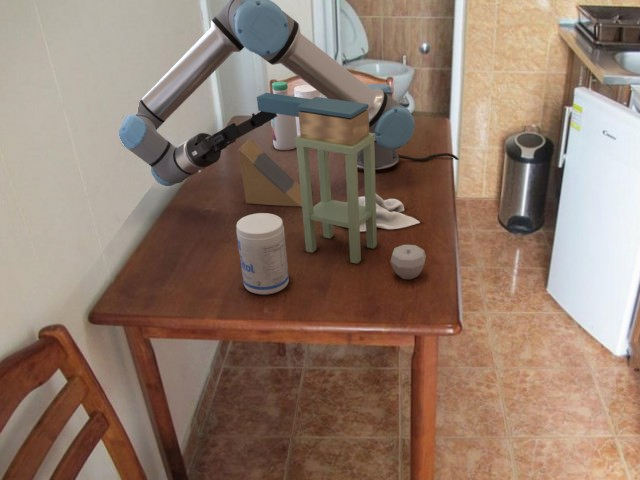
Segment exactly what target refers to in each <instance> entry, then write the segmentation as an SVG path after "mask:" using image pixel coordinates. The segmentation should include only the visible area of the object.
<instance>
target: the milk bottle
mask: <svg viewBox="0 0 640 480" xmlns="http://www.w3.org/2000/svg"><path fill="white" fill-rule="evenodd" d="M288 87H289V86H288V82H286V81H275V82H272V84H271V88H272V92H273V94H279V95H286V96H289V94H288V90H289V89H288ZM270 124H271V127H270V128H271V134H272V144H273V147H274V148H275V149H276V150H278V151H289V150H294V149H297V147H296V145H295V140H294V138H296V137H297V128H296V118H295V116H289V115H282V114H277V117H275V118H273V119H272V120H270Z"/></svg>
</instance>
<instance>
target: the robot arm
mask: <svg viewBox="0 0 640 480" xmlns="http://www.w3.org/2000/svg"><path fill="white" fill-rule="evenodd" d="M244 49H246V50H248V51H249V52H251V53H254V54H255V55H258V56H259V57H261V58H262V59H263V60H265V61H266V62H267V63H269V64H270V65H272V66H276V65H282V66H284V68H286V69H288V70H289V71H290V72H292V74H294V75H295V76H296V77H298V78H300V79H301V80H302V81H304V82H305V83H306V84H307V85H311V86H312V87H313V88H315V89H316V90H317V91H319V92H320V95H322V96H324V98H328V99H335V100H342V101H349V102H356V103H363V104H368V105H369V108H368V110H369V133H374V134H375V141H374V149H375V173H383V172H387V171H390V170H393V169H395V168H396V167H398V165H399V164H400V159H403V160H409V161H412V162H413V161H415V162H423V161H428V160H430V159H433V158H439V157H451V158H452V159H454V160H456V161H459V160H460V159H459V157H457V156H456V155H455V154H453V153H451V152H450V153H449V152H440V153H436V154H435V153H434V154H430V155H427V156H426V157H411V156H406V155H401V154H399V153H398V150H397V149H401V148H403V147H404V146H406V145H407V144H408V143H409V141H410V140H411V139H412V137H413V135H414V132H415V118H414V116H413V115H412V113H411V111H410V110H409V109H408V108H407V107H405V106H403V105H401V103H399V102H398V101H397V100H396V99H394V98H393V88H392V86H391V85H389V84H385V83H369V84H366V83H364V82H363V81H362V80H361V79H360V78H358V77H357V76H356V75H354V74H353V73H352V72H351V71H349V70H348V69H346V68H345V67H344V66H342V64H340V62H338V61H337V60H335V59H334V58H333V57H331V56H330V54H327V52H326V51H324V50H323V49H321V48H320V47H319V46H317V44H315V43H313V42H312V41H311V40H310V39H309V38H307V37H306V36H305V35H303V34H302V33H301V27H300V23H299V22H297V21H296V20H295V19H294V18H292V17H291V16H290V15H289V14H288V13H286V12H285V11H284V10H283V9H282V8H281V7H280V6H279V5H278V4H277V3H275V2H274V1H272V0H229V1H228V2H227V3H226V4H225V5H224V6H223V8H221V10H220V11H219V12H218V13H217V14H216V15H215V16H214V17H213V18H212V20H210V28H209V29H208V30H207V31H206V32H205V33H204V34H203V35H202V36H201V37H200V38H199V39H198V40H197V41H196V42H195V44H193V45H192V46H191V47H190V49H189V50H187V52H186V53H184V54H183V55H182V57H181V58H180V59H179V60H178V61H177V62H176V63H175V64H173V66H172V67H171V68H170V69H169V70H168V71H167V72H166V73H165V74H164V75H163V76H162V77H161V78H160V79H159V80H158V81H157V82H156V84H155V85H153V87H151V89H150V90H148V92H147V93H145V95H143V97H141V99H140V100H139V101H140V102H139V101H138V102H139V107H138V113H137V114H136V115H134V114H130V115H127V116H126V117H125V119H124V121H123V123H122V126H121V128H120V130H119V136H120V139H121V141H122V143H123V144H124V146H125V147H126V148H125V147H124V146H123V147H124V148H125V149H127V150H129V152H131V153H133V154H134V155H135V156H136V157H138V158H139V159H141V160H142V161H144V162H145V163H146V164H148V165H149V166H150V172H151V175H152V177H153V178H154V181H155V182H157V183H158V184H160V185H162V186H164V187H171V186H175V185H177V184H180V183H182V182H183V181H185V180H186V179H188V178H190V177H192V176H193V175H194V174H197V173H198V174H202V173H203V170H204V169H206V168H207V167H210V166H212V165H213V164H215V163H217V162H218V161H219V160H220V158H221V155H222V151H223V150H225V149H227V147H228V146H230V145H231V144H233V143H236V141H237V139H239V138H241V137H243V136H245V135H246V134H249V133H250V132H252V131H253V130H256V129H257V128H260V127H262V126H263V125H264V124H266V123H269V122H271V120H272V119H273V118H275V117H277V114H276V113H270V112H263V111H258V112H257V113H256V114H255V112H253V113H251V118H249V119H246V120H245V121H243V122H241V123H238V124H236V123H235V122H233V123H231V124H229V125H227V126H226V127H224V128H223V129H220V130H219V131H217V132H216V133H214V134H212V135H211V134H209V133H207V132H199V133H197V134H195V135H194V136H192V137H191V138H189V139H186V140H185V141H184V142H182V143H181V144H179V145H178V146H175V145H174V144H172V143H171V142H170V141H169V140H167V138H165V137H164V136H162V134H160V133H159V132H158V131H157V130H158V129H159V128H160V127H161V126H162V125H163V124H164V123H165V122H166V121H167V120H168V119H169V118H170V117H171V116H172V115H173V114H174V113H175V111H176V110H178V109H179V107H180V106H182V105H183V104H184V102H186V101H187V100H188V99H189V98H190V96H191V95H193V94H194V92H196V91H197V89H198V88H200V86H202V84H203V83H204V82H205V81H207V80H208V79H209V78H210V76H211V75H212V74H214V72H215V71H216V70H218V69H219V67H220V66H221V65H222V64H223V63H224V62H225V61H226V60H227V59H228V58H230V56H231V55H232V54H233V53H240V52H241V51H243V50H244ZM357 172H363V173H364V153H363V149H362V150H360V151H359V152H357Z"/></svg>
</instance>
